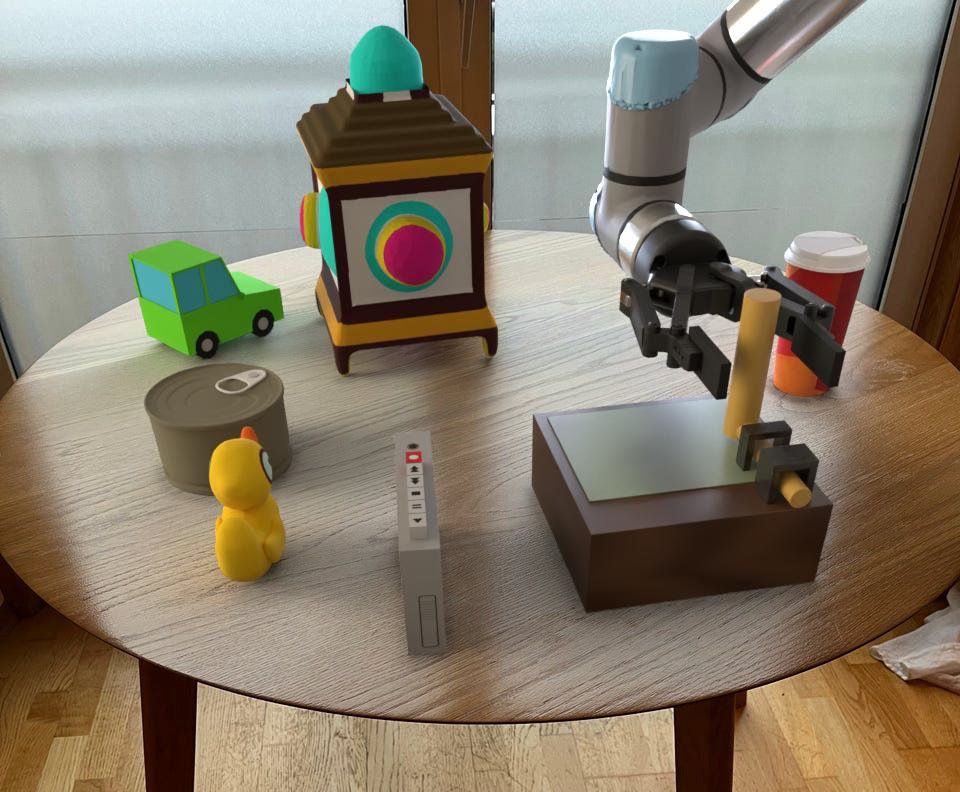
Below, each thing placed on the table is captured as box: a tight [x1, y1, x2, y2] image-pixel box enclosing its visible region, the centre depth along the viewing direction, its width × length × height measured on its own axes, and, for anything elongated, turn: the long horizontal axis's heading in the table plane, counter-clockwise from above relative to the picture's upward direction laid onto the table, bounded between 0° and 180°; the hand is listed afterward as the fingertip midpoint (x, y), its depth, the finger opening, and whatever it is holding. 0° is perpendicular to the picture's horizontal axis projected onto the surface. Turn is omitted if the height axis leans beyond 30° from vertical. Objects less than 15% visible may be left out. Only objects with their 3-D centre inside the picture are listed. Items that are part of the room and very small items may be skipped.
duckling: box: [209, 427, 287, 583], centre depth 76 cm, size 11×5×10 cm, turn 1°
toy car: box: [127, 238, 285, 360], centre depth 109 cm, size 10×13×10 cm
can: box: [143, 362, 293, 496], centre depth 89 cm, size 12×12×7 cm
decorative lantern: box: [295, 24, 499, 377], centre depth 101 cm, size 20×20×30 cm
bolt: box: [723, 288, 812, 508], centre depth 71 cm, size 3×12×11 cm, turn 11°
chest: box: [531, 392, 835, 614], centre depth 78 cm, size 18×18×10 cm
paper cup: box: [772, 230, 871, 397], centre depth 96 cm, size 8×8×14 cm
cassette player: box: [394, 430, 447, 656], centre depth 73 cm, size 16×3×10 cm, turn 5°
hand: (780, 375), depth 70 cm, fingers open, 8 cm apart
